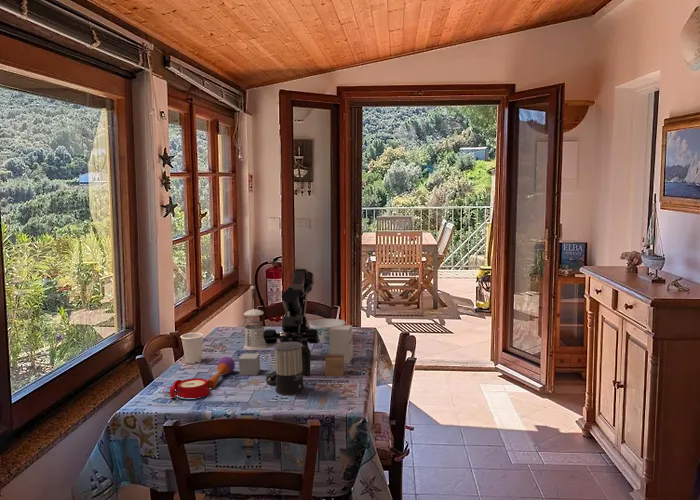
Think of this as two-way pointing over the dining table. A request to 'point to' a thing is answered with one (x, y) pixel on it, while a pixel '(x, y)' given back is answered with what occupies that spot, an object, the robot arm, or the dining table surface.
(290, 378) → the milk frother
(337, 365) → the walnut block
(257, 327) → the french press
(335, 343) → the supplement box
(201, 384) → the alarm clock
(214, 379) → the kendama
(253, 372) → the beige block
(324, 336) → the chinaware
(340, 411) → the dining table surface
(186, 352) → the dixie cup
